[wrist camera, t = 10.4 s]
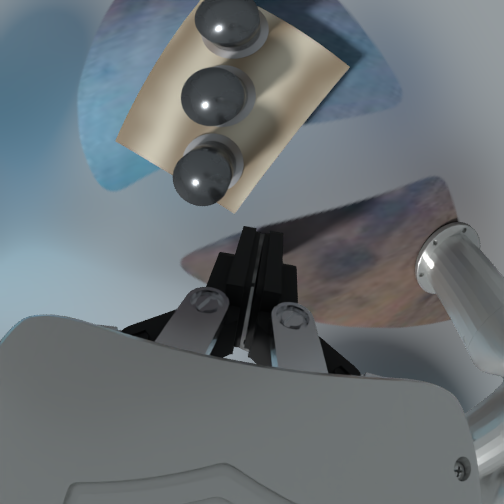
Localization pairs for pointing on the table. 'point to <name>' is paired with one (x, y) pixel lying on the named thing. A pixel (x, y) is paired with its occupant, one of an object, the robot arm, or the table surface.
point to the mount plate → (255, 112)
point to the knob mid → (213, 96)
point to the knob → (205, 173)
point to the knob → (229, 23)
